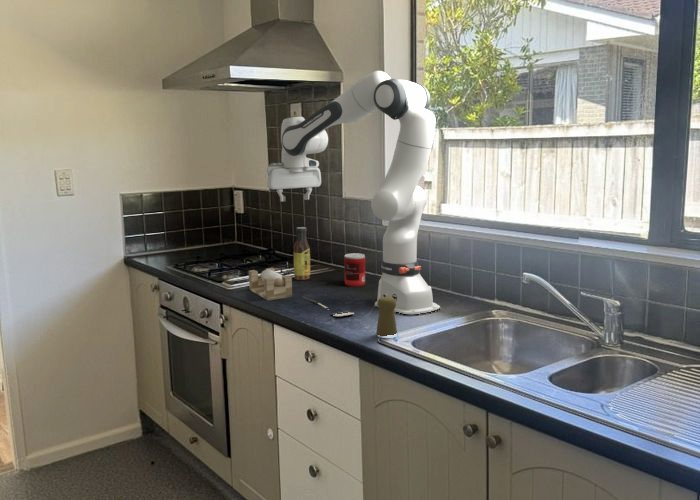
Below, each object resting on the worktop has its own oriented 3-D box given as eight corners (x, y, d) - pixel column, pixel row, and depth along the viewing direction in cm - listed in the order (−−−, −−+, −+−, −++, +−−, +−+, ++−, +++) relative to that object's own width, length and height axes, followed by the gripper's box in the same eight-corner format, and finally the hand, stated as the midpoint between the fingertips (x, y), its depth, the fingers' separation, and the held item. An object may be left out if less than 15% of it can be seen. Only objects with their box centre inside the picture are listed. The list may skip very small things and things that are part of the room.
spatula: (338, 320, 205) (338, 316, 205) (295, 299, 230) (295, 295, 229) (355, 317, 208) (355, 313, 208) (310, 297, 233) (310, 293, 232)
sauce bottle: (307, 281, 254) (306, 229, 250) (292, 280, 255) (290, 228, 251) (312, 277, 260) (311, 226, 256) (296, 276, 261) (295, 226, 258)
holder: (292, 297, 231) (291, 277, 230) (267, 300, 227) (267, 280, 225) (272, 286, 246) (271, 267, 245) (249, 289, 242) (248, 270, 241)
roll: (282, 293, 230) (291, 281, 231) (272, 284, 227) (281, 273, 228) (264, 283, 244) (273, 272, 244) (254, 275, 241) (263, 264, 242)
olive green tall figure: (398, 338, 186) (399, 300, 184) (377, 339, 186) (377, 300, 184) (395, 331, 192) (395, 294, 190) (374, 332, 192) (374, 295, 190)
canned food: (361, 281, 253) (361, 252, 251) (368, 285, 246) (368, 256, 244) (341, 282, 251) (341, 253, 249) (348, 287, 243) (348, 258, 241)
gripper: (270, 163, 234) (271, 203, 236) (322, 161, 244) (323, 199, 246) (263, 162, 239) (264, 201, 242) (315, 160, 249) (315, 198, 252)
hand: (294, 200), depth 244 cm, fingers open, 8 cm apart
